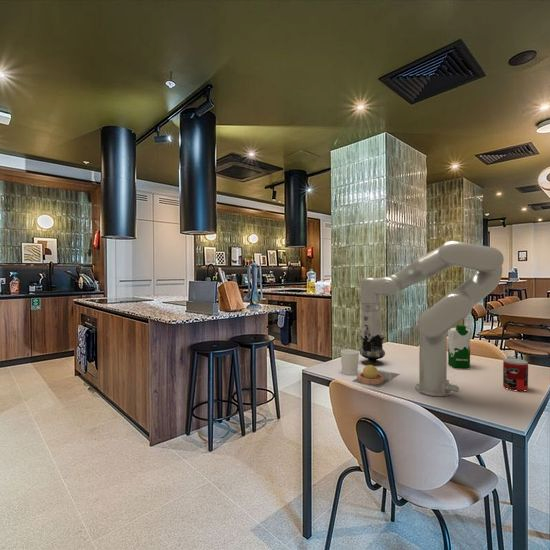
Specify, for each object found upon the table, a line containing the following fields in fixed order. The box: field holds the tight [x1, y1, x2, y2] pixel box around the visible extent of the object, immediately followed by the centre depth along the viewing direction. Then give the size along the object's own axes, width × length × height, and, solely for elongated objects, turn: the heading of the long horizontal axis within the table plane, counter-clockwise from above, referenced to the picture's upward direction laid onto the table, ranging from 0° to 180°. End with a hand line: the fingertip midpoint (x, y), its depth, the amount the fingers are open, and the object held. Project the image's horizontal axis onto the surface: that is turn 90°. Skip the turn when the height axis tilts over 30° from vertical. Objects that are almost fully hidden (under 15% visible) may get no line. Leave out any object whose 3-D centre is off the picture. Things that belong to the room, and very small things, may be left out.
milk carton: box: [447, 324, 472, 369], centre depth 165 cm, size 9×9×20 cm
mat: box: [352, 369, 400, 388], centre depth 149 cm, size 12×22×1 cm, turn 140°
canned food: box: [502, 357, 529, 391], centre depth 135 cm, size 8×8×11 cm
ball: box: [362, 365, 379, 379], centre depth 144 cm, size 6×6×6 cm
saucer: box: [356, 371, 384, 386], centre depth 144 cm, size 10×10×2 cm
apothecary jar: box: [359, 331, 386, 367], centre depth 171 cm, size 12×12×18 cm
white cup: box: [340, 348, 360, 376], centre depth 156 cm, size 8×8×10 cm
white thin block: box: [377, 369, 392, 381], centre depth 149 cm, size 12×1×3 cm, turn 50°
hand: (372, 348), depth 144 cm, fingers open, 9 cm apart
